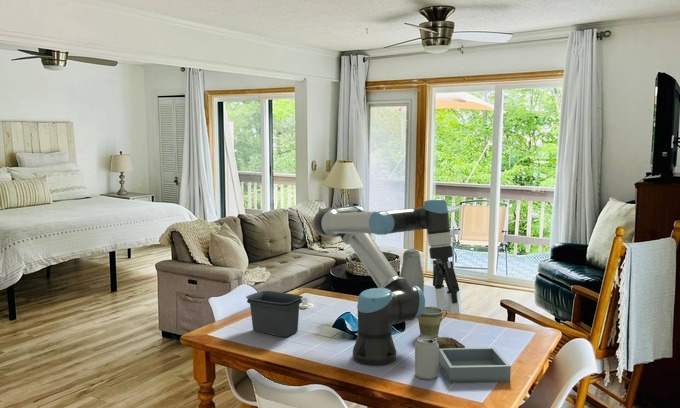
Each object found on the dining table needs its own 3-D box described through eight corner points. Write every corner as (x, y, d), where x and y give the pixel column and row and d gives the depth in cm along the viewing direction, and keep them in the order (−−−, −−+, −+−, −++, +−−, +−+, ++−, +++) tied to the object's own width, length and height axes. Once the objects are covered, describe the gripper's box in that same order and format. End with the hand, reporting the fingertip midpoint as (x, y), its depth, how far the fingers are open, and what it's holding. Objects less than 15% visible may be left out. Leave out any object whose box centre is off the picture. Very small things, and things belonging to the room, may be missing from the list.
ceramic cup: (425, 341, 208) (425, 315, 206) (411, 333, 217) (411, 308, 216) (454, 336, 213) (454, 311, 212) (439, 328, 222) (439, 304, 221)
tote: (449, 383, 171) (449, 367, 170) (438, 362, 187) (438, 348, 186) (510, 381, 172) (510, 366, 171) (493, 361, 188) (494, 347, 187)
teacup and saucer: (306, 310, 248) (305, 301, 248) (292, 307, 253) (291, 299, 252) (317, 305, 256) (317, 297, 255) (303, 303, 260) (303, 294, 259)
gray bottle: (409, 306, 252) (410, 246, 249) (427, 311, 244) (428, 249, 241) (395, 311, 245) (395, 249, 242) (413, 316, 238) (413, 252, 235)
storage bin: (243, 332, 219) (242, 296, 217) (267, 321, 232) (266, 287, 231) (286, 341, 208) (285, 304, 206) (309, 329, 221) (309, 294, 220)
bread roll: (422, 349, 200) (422, 335, 200) (446, 341, 208) (446, 329, 207) (449, 359, 190) (449, 345, 190) (473, 351, 197) (473, 338, 197)
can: (438, 381, 172) (438, 344, 171) (413, 379, 174) (414, 342, 172) (438, 371, 179) (439, 336, 178) (415, 370, 181) (415, 334, 180)
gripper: (464, 245, 170) (472, 314, 169) (439, 244, 195) (447, 304, 194) (440, 248, 169) (449, 317, 168) (419, 246, 194) (426, 307, 193)
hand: (448, 310), depth 181 cm, fingers open, 13 cm apart
